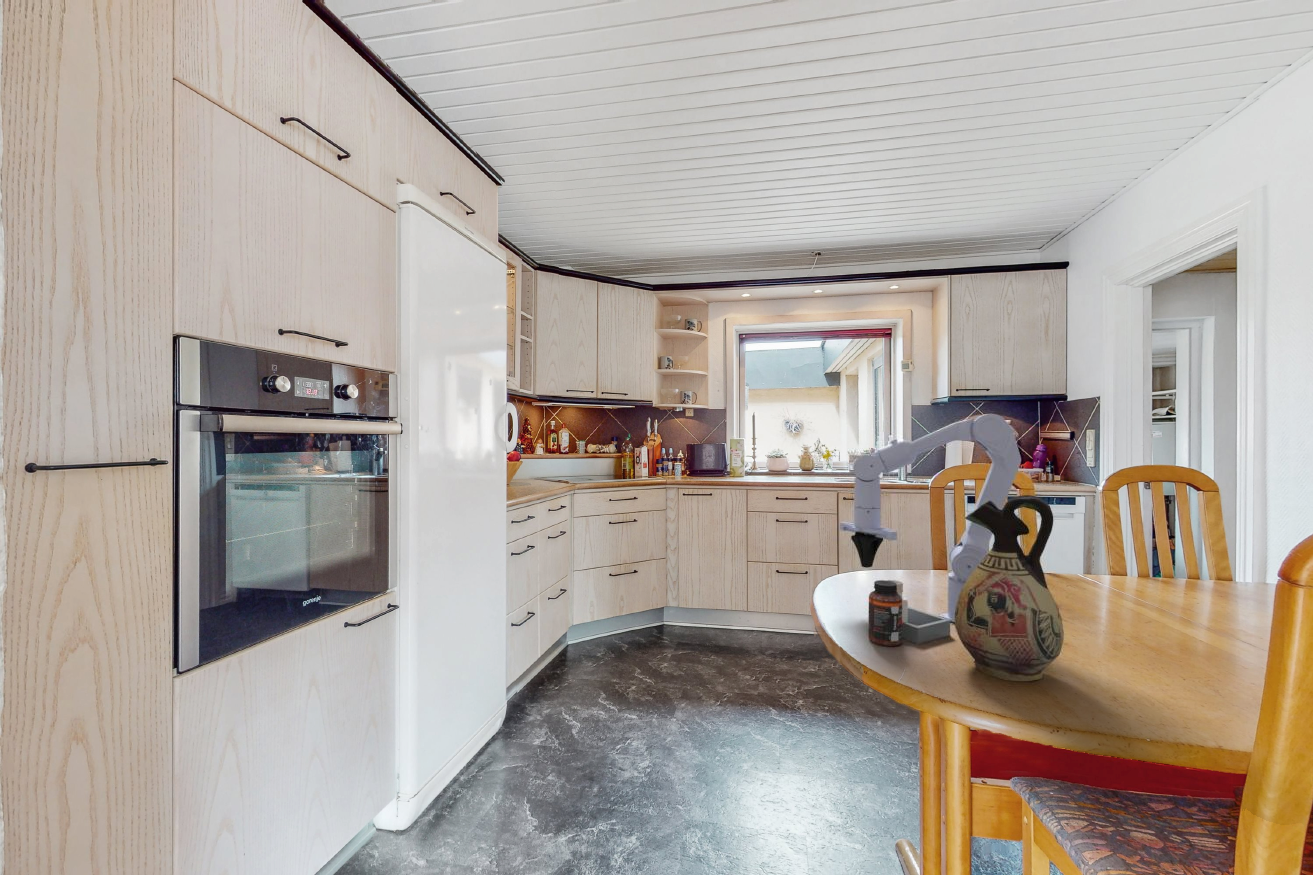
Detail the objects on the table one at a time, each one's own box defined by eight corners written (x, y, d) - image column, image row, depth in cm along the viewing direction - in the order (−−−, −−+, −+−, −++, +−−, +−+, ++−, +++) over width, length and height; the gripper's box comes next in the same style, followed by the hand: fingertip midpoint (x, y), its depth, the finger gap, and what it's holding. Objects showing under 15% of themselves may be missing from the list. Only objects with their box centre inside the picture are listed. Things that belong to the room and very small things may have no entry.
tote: (903, 619, 118) (903, 605, 118) (950, 635, 109) (950, 620, 109) (872, 626, 114) (872, 611, 114) (918, 643, 104) (918, 628, 104)
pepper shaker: (891, 623, 116) (891, 578, 116) (908, 629, 112) (909, 582, 112) (879, 627, 114) (879, 581, 113) (896, 633, 110) (897, 585, 110)
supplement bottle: (905, 648, 102) (905, 587, 102) (871, 645, 103) (871, 585, 103) (898, 636, 108) (898, 579, 108) (865, 634, 109) (866, 577, 109)
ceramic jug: (944, 673, 92) (945, 493, 91) (964, 646, 103) (965, 486, 103) (1072, 706, 81) (1074, 502, 80) (1078, 671, 93) (1080, 493, 92)
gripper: (830, 504, 130) (830, 561, 131) (881, 512, 118) (881, 575, 118) (852, 502, 134) (851, 558, 134) (903, 510, 121) (903, 572, 121)
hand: (866, 566), depth 126 cm, fingers closed
